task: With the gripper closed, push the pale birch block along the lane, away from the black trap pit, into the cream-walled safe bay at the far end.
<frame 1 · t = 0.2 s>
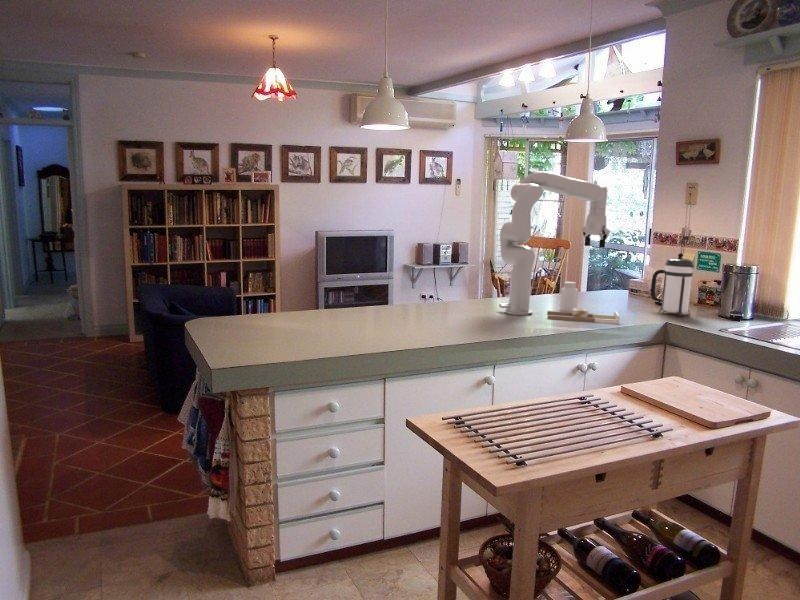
hand: (594, 246, 315), 31 cm above the worktop, tool pointing down, fingers open, 9 cm apart
block: (579, 318, 283), point 1 cm above the worktop, touching lane
pill bottle: (567, 313, 303), on the worktop
coffee press: (671, 314, 311), on the worktop
lane: (581, 322, 283), on the worktop
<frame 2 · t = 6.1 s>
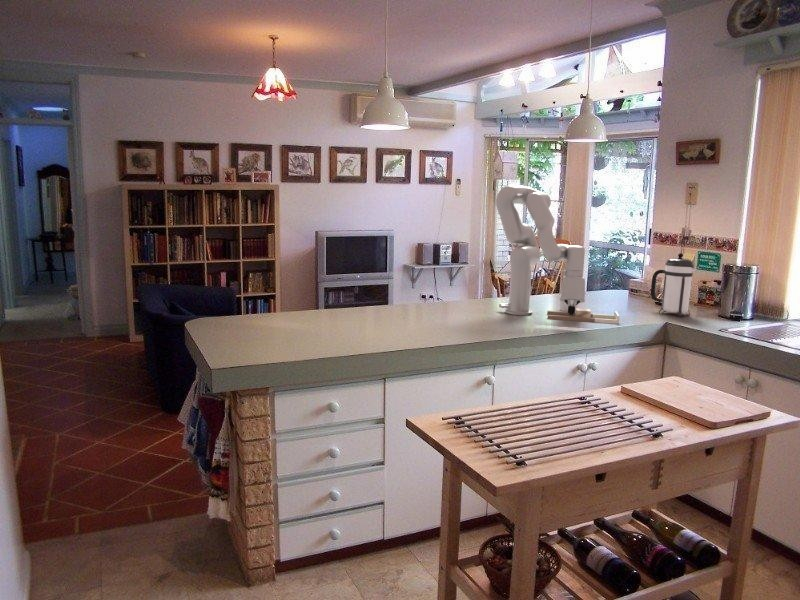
hand: (571, 314, 283), 3 cm above the worktop, tool pointing down, fingers closed
block: (582, 318, 282), point 2 cm above the worktop, touching gripper, lane
everything else where it was.
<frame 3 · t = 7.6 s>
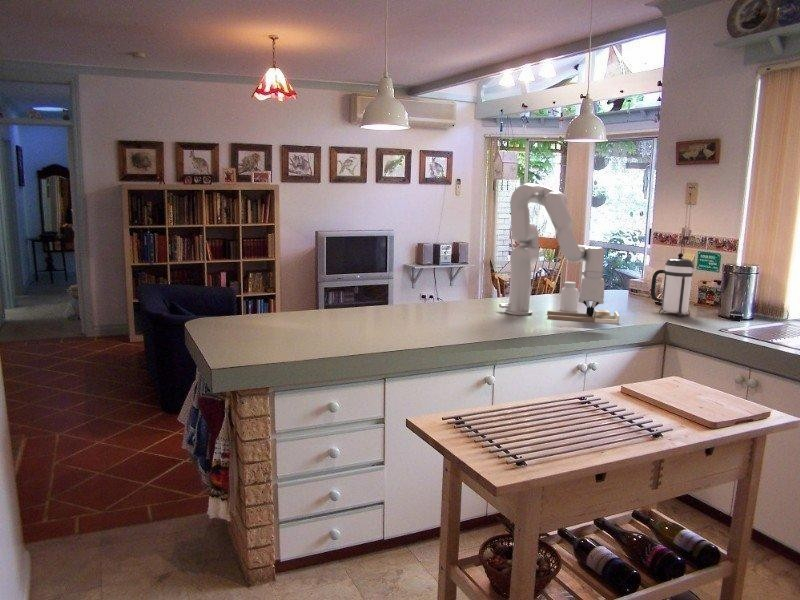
hand: (589, 316, 282), 3 cm above the worktop, tool pointing down, fingers closed
block: (601, 319, 281), point 2 cm above the worktop, touching gripper
everything else where it was.
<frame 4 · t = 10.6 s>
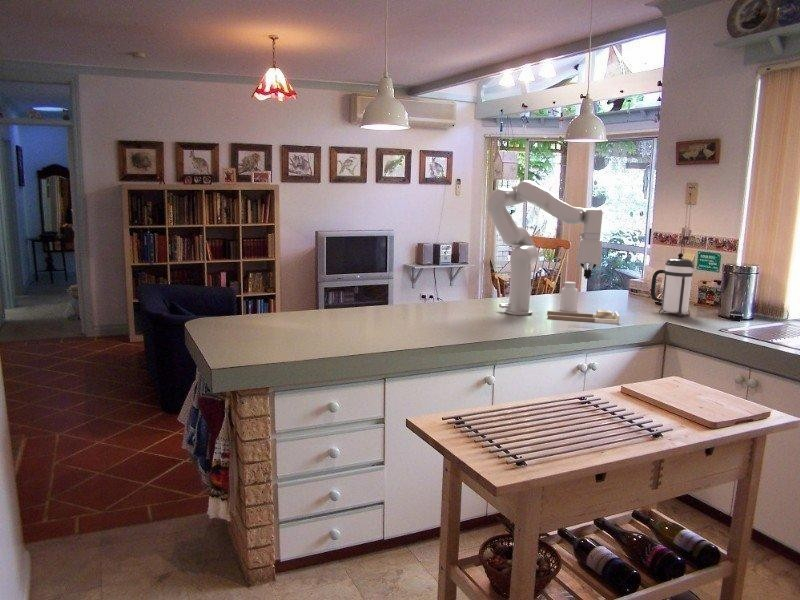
hand: (586, 278, 281), 19 cm above the worktop, tool pointing down, fingers closed
block: (603, 320, 281), point 1 cm above the worktop, touching lane
everything else where it was.
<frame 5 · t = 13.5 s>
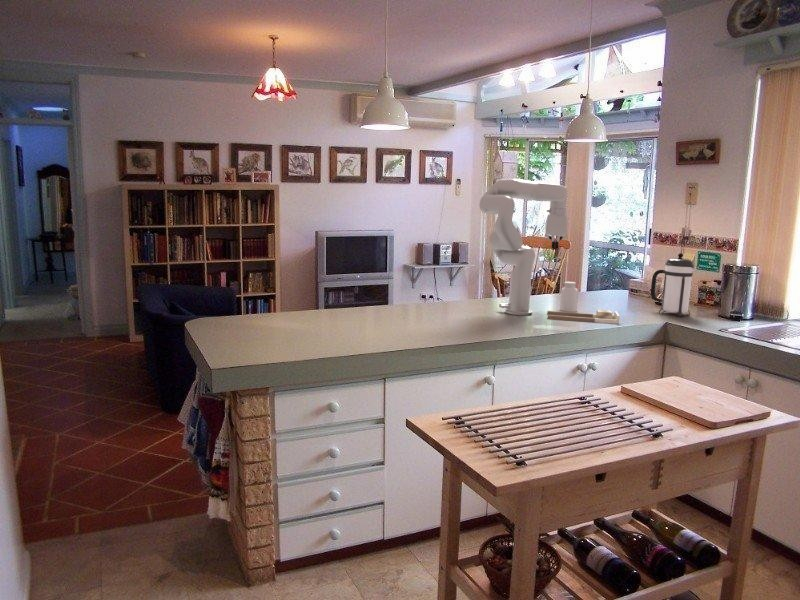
hand: (554, 249, 310), 29 cm above the worktop, tool pointing down, fingers closed
nothing on the worktop moved.
at the end: block inside the target area on the lane (0.7 cm from its centre), point 1.5 cm above the lane's base; block tilted 0°; the gripper is holding nothing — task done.
